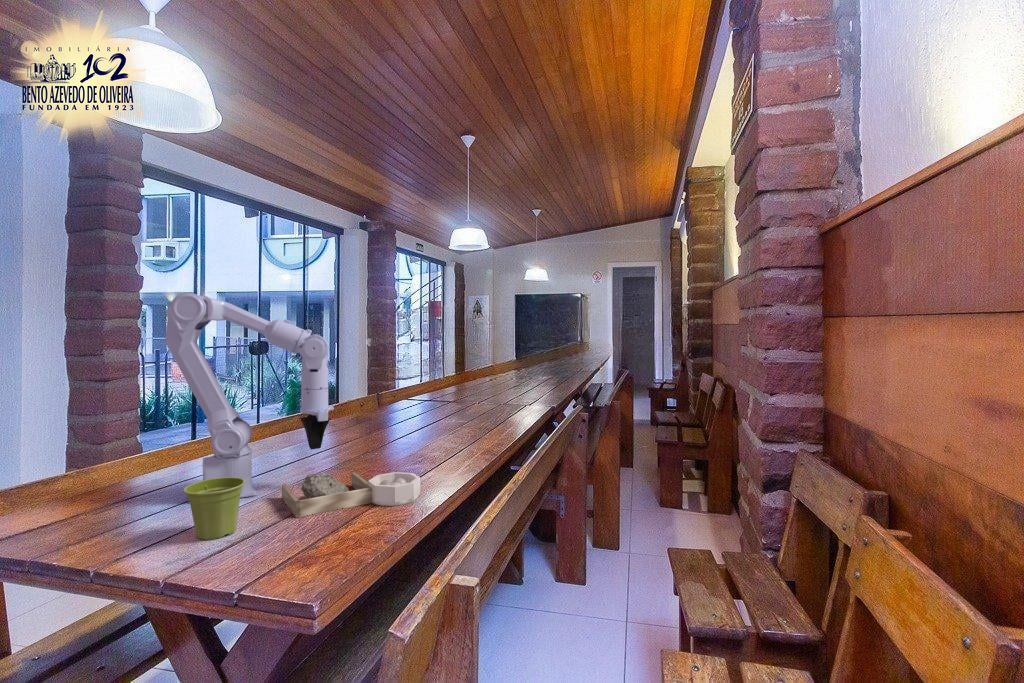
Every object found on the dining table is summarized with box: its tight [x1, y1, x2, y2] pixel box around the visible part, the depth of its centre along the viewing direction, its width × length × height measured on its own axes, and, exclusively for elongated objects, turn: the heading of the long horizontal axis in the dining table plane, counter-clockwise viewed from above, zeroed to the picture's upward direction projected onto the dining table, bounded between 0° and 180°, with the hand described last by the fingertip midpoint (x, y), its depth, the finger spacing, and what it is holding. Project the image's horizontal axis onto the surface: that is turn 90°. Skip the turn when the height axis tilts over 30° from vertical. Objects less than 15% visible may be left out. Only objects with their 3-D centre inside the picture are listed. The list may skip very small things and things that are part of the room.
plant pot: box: [183, 477, 245, 541], centre depth 90 cm, size 9×9×9 cm
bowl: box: [367, 471, 421, 507], centre depth 109 cm, size 10×10×4 cm
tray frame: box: [281, 471, 373, 519], centre depth 108 cm, size 16×14×3 cm
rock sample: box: [299, 473, 349, 498], centre depth 108 cm, size 10×8×9 cm
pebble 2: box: [394, 478, 407, 484], centre depth 110 cm, size 3×3×3 cm
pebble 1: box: [379, 480, 392, 485], centre depth 109 cm, size 3×3×3 cm
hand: (315, 448), depth 116 cm, fingers closed
